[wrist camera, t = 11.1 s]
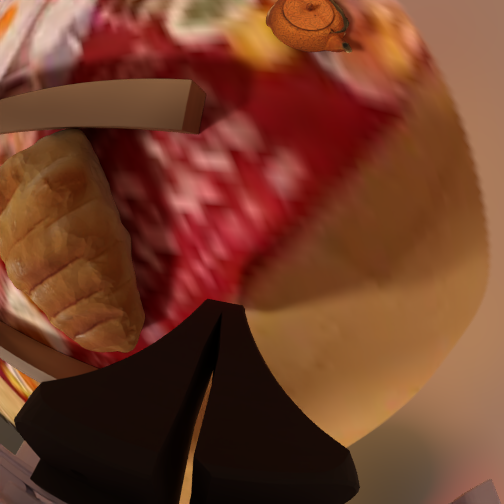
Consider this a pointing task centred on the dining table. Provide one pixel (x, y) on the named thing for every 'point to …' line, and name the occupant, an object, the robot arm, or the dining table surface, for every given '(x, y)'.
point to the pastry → (70, 242)
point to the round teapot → (309, 25)
